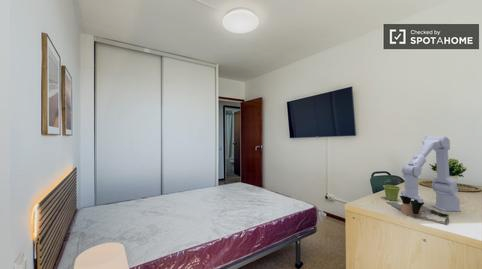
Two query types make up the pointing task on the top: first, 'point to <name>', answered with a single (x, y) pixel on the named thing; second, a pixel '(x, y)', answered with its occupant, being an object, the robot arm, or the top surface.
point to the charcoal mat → (398, 204)
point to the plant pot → (391, 192)
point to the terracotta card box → (409, 210)
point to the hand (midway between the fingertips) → (411, 211)
